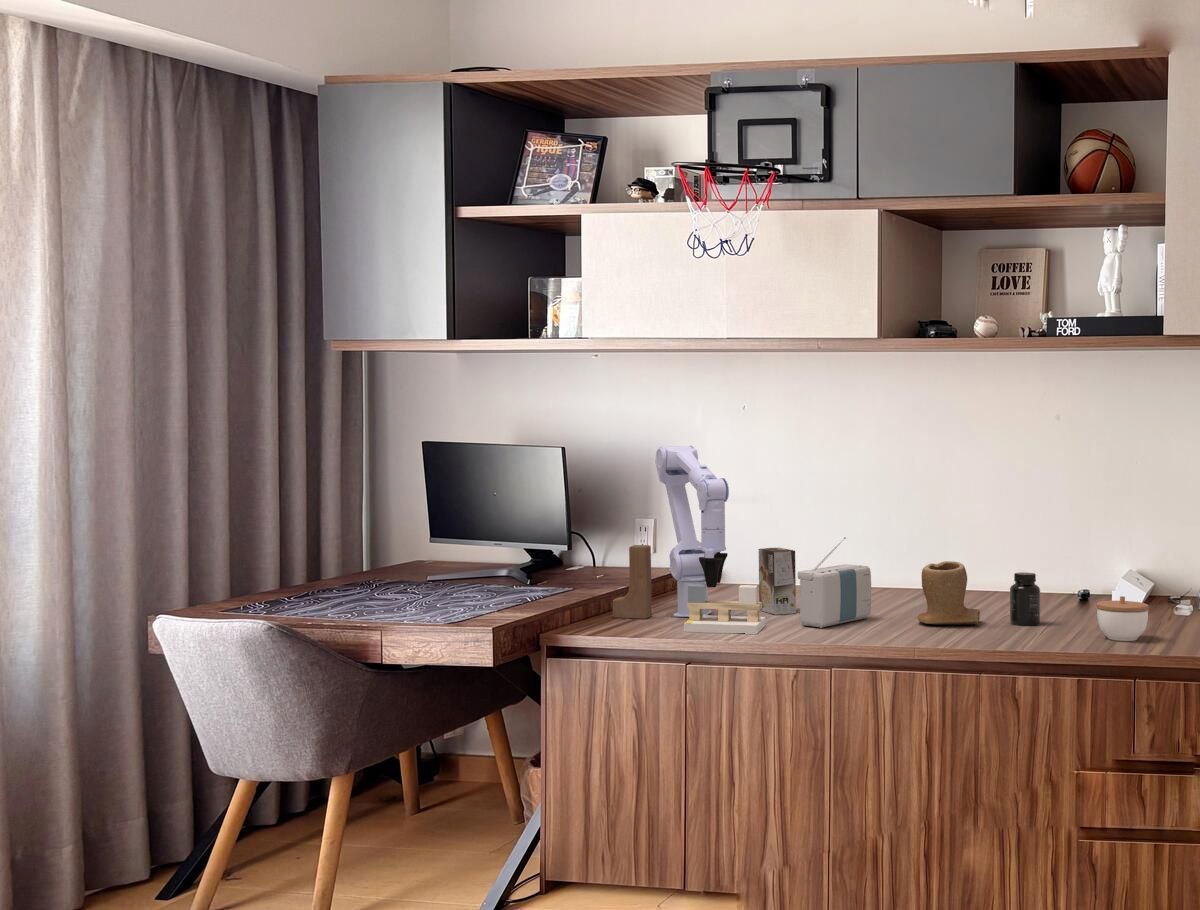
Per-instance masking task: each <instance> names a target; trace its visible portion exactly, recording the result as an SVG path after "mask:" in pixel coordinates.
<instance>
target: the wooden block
mask: <svg viewBox="0 0 1200 910" xmlns="http://www.w3.org/2000/svg"><path fill="white" fill-rule="evenodd" d="M651 548H652V546H651V545H650V544H645V545H644V544H634V545H633V544H632V545H630V546H629V548H628V552H629V553H628V555H629V557H628V558H629V559H628V560H629V561H628V562H629V564H628V567H629V568H628V569H629V572H628V573H629V575H628V576H629V587H628V590H627V593H626V594H625V595H624V596H619V597H617V598H614V599H613V600H612V618H614V619H634V620H636V619H638V620H647V619H649V618H651V617H652V549H651Z"/></svg>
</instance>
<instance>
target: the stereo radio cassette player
mask: <svg viewBox="0 0 1200 910" xmlns="http://www.w3.org/2000/svg"><path fill="white" fill-rule="evenodd" d="M846 539H847V537H846V536H844V537H843V539H842V540H841V541H840V542H838V543H837V545H836V546H835V547H833V549H832V550H830V551H829V552H828V553H827V555H826V556H824V558H822V559H821V561H820V562H819V563H818V564H817V565H816V566H815V567H814V568H812V569H806V570H800V571H797V579H798V580H799V603H800V605H799V607H800V609H799V611H800V612H799V613H800V614H799V615H800V616H799V617H800V618H799V620H800V622H801V625H802V626H804V627H806V626H808V627H815V628H819V629H823V628H826V627H831V626H835V625H839V624H843V623H847V622H848V623H849V622H854V621H858V620H865V619H867V617H868V616H871V613H872V572H871V568H870V567H869V566H868V565H860V564H847V563H846V564H837V565H831V566H826V567H820V566H821V565H822V564H823V563H824V562H825V561H826V560H827V559H828V557H830V556H831V554H833V552H834V551H836V549H837V547H839V546H840V545H841V543H842V542H843V541H844V540H846Z"/></svg>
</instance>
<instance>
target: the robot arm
mask: <svg viewBox="0 0 1200 910" xmlns="http://www.w3.org/2000/svg"><path fill="white" fill-rule="evenodd" d="M654 461H655V468H656V472H657V476H658V480H659V482H660V483H662V484H664V485H665V490H666V495H667V498H668V503H669V509H670V513H671V517H672V522H673V526H674V531H675V532H674V533H675V536H676V542H677V544H676V545H675V546H673V548H672V549H671V551H670V553H669V568H670V569H669V570H670V573H671V575H672V576H671V577H673V578H674V580H676V581H677V582H676V583H677V591H676V592H677V612H675V613H674V614H673V617H677V618H678V617H680V618H682V617H683V618H689V608H687V603H688V585H689V584H706V601H709V599H708V598H709V597H708V596H709V593H708V591H709V589H708V588H716V587H717V584H720V583H721V581H722V576H723V575H722V574H723V571H724V570H723V569H724V565H725V561H726V559H727V557H728V555H729V554H728V553H727V552H725V551H726V550H727V546H726V502H727V501H728V499H729V496H730V488H729V483H728V481H727V480H726V478H725V477H720V478H718V477H717V476H716V475H715V474H714V473H713V471H711V470H710V468H709V467H708V466H707V465H706V464H701V463H700V462H699V455H698V451H697V449H696V446H694V445H689V446H688V445H687V446H685V445H684V446H663V445H660V446H659V447H658V448H657V450H656V452H655V460H654ZM688 483H690V484H691V486H692V487H693V488H694V489H695V490H696V496H697V500H698V508H699V510H700V523H701V524H700V525H701V526H700V527H701V531H700V533H701V535H700V537H701V539H700V540H701V542H700V540H698V539H697V535H696V534H697V533H696V530H695V525H694V521H693V515H692V510H691V507H690V503H689V497H688V493H687V489H686V485H687V484H688ZM702 613H703V615H709V614H711V613H712V609H702Z"/></svg>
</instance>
